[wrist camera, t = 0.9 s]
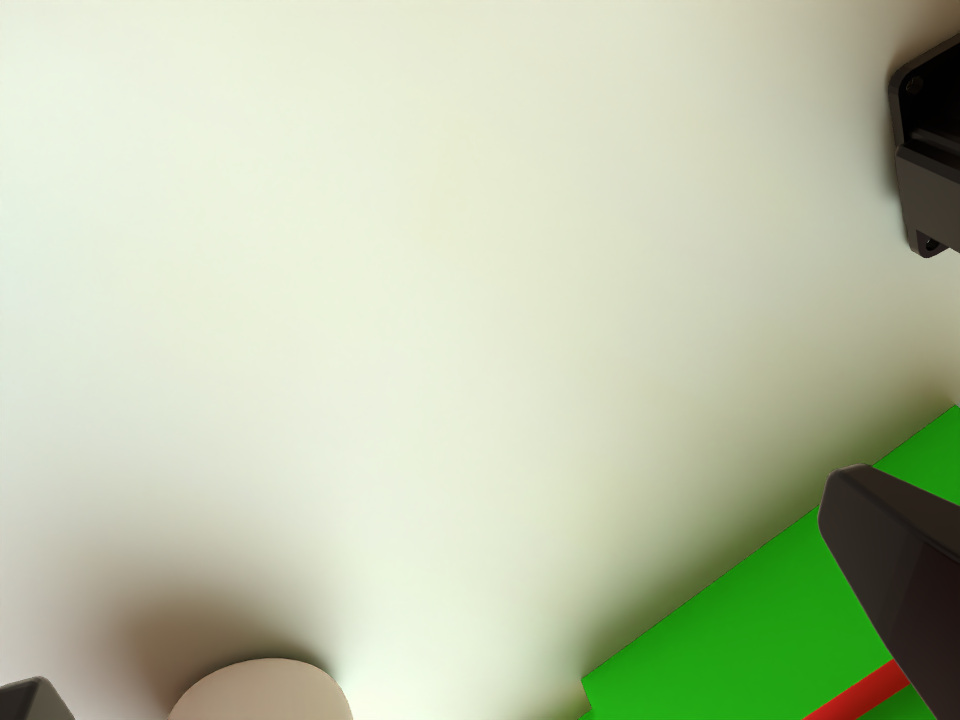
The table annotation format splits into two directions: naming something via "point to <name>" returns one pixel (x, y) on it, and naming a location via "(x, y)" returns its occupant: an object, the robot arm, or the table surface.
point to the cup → (264, 693)
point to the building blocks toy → (778, 629)
